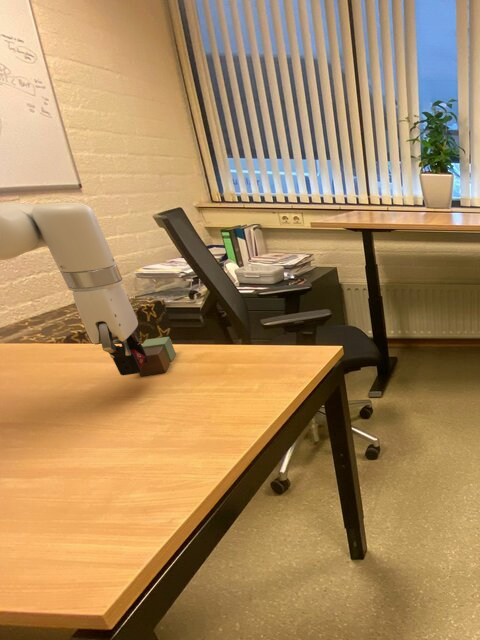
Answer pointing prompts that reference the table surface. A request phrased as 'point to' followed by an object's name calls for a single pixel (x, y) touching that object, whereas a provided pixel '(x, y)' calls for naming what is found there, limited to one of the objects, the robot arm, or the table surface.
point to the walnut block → (155, 361)
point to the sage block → (159, 343)
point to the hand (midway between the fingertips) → (135, 367)
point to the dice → (138, 357)
